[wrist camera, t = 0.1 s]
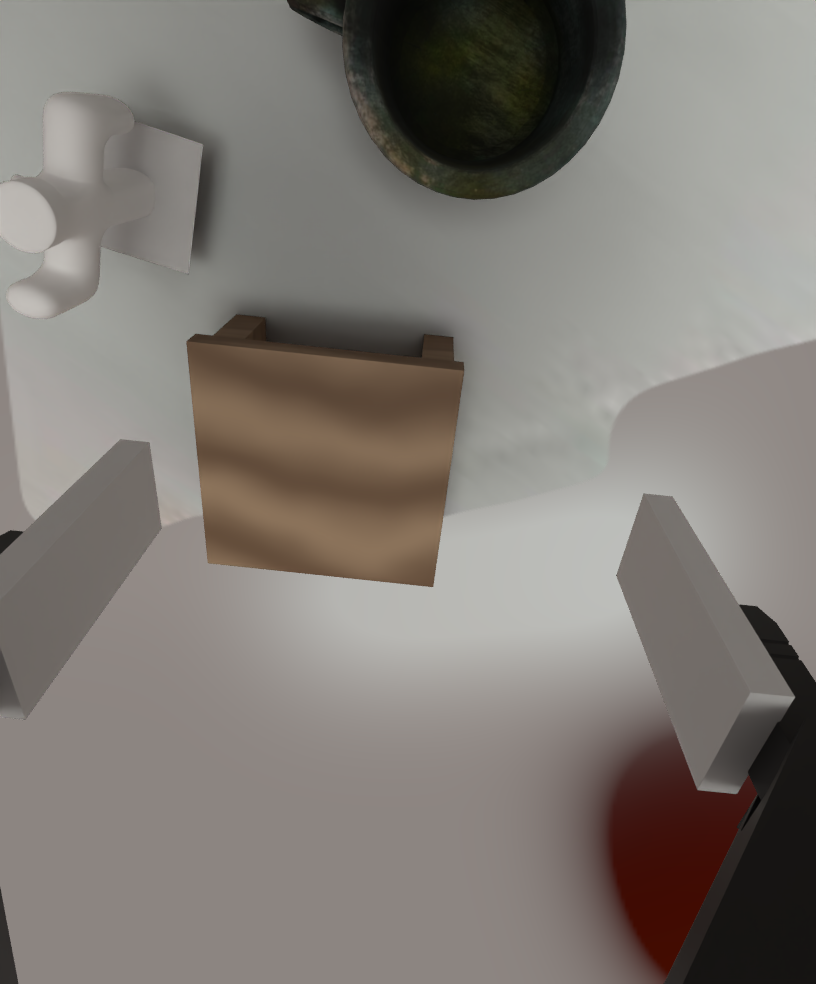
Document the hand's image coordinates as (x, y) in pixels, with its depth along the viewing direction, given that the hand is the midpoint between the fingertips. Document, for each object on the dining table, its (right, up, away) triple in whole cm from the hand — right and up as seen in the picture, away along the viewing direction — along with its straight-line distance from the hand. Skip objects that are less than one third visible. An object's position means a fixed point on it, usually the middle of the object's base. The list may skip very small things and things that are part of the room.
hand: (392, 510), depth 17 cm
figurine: (-15, +20, +22) cm, 33 cm away
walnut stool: (-5, +6, +30) cm, 30 cm away
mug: (+2, +25, +18) cm, 31 cm away
